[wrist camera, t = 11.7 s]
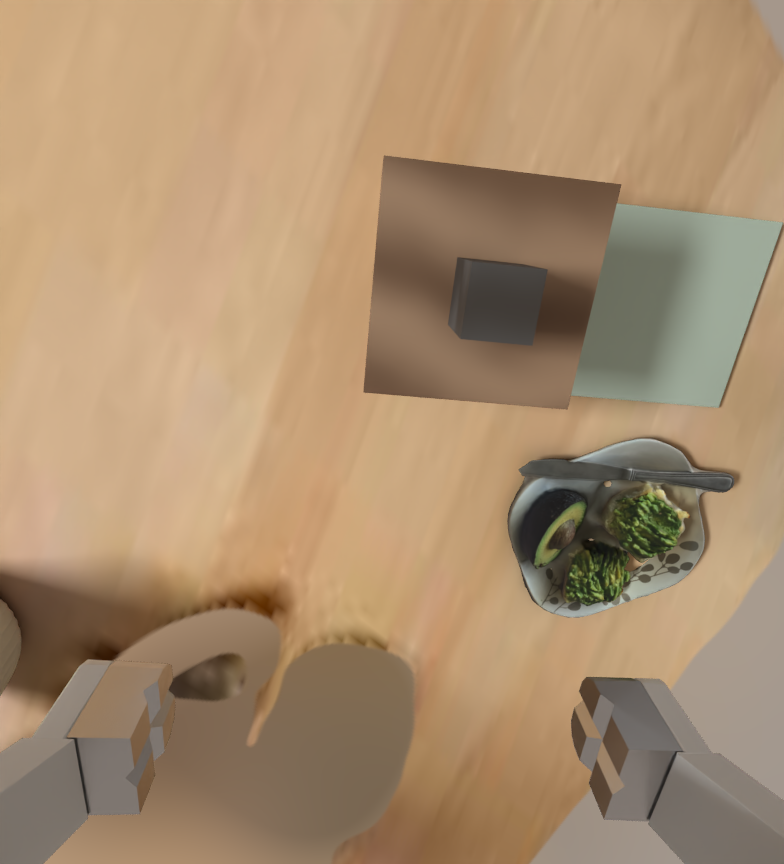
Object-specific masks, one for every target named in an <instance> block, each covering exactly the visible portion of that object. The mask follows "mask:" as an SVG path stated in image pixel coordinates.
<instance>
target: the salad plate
mask: <svg viewBox="0 0 784 864" xmlns="http://www.w3.org/2000/svg"><path fill="white" fill-rule="evenodd" d="M519 471H520V473H521V475H522V476H525V478H524V481H523V484H522V486H521V487H520V489H519V490H518V492H517V494H516V496H515V498H514V500H513V502H512V504H511V506H510V510H509V513H508V531H509V537H510V540H511V543H512V548H513V550H514V553H515V555H516V558H517V560H518V563H519V566H520V569H521V572H522V576H523V580H524V584H525V587H526V588H527V590H528V592H529V594H530V596H531V599H532V600H533V601H534V602H535V603H536V604H537V605H539V606H540V607H541V608H543V609H544V610H546V611H548V612H550V613H553V614H557V615H560V616H565V617H575V618H576V617H583V616H588V615H592V614H595V613H598V612H601V611H604V610H606V609H609V608H612V607H614V606H617V605H620V604H622V603H625V602H629V601H631V600H633V599H636V598H639V597H643V596H648V595H649V594H652V593H655V592H658V591H661V590H663V589H665V588H668V587H670V586H673V585H675V584H676V583H678V582H680V581H681V580H682V579H683V578H684V577H685V576H687V575H688V574H689V572H690V571H691V570H692V569H693V567H694V566H695V564H696V563H697V561H698V560H699V558H700V556H701V554H702V552H703V549H704V541H705V537H704V529H703V524H702V517H701V514H700V508H699V498H700V495H701V494H702V493H704V492H710V491H712V492H727V491H728V490H730V489H731V488H732V487H733V485H734V478H733V477H732V476H731V475H730V474H728V473H725V472H714V471H703V470H699V469H696V468H695V467H693V466H692V465H691V464H690V462H689V461H688V460H687V458H686V457H685V455H684V454H683V453H682V452H681V451H680V450H678V449H676V448H674V447H673V446H671V445H669V444H666V443H664V442H661V441H658V440H656V439H653V438H645V439H642V438H638V439H633V440H629V441H624V442H619V443H616V444H613V445H609V446H606V447H604V448H602V449H599V450H597V451H594V452H591V453H588V454H586V455H583V456H580V457H578V458H575V459H571V460H563V459H544V460H533V461H530V462H529V463H528V464H526V465H525V466H523V467H522V468H520V469H519ZM609 480H610V481H611V483H612V484H611V486H610V487H605V486H604V481H609ZM591 538H592V539H595V540H593V541H589V540H588V539H591ZM628 552H629V553H630V554H631V555H632V556H633V557H634V558H635V559H636V560H638V561H639V562H640V563H643V562H644V561H646V560H648V559H649V560H648V561H647V562H646V563H645V564H643V565H642V566H640V567H638V568H637V569H636V570H634V571H632V572H629V571H626V570H624V568H625V566H626V564H627V563H628V560H629V557H628V555H627V553H628ZM551 569H552V570H551Z"/></svg>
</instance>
